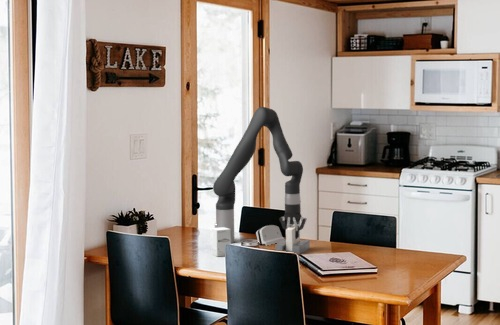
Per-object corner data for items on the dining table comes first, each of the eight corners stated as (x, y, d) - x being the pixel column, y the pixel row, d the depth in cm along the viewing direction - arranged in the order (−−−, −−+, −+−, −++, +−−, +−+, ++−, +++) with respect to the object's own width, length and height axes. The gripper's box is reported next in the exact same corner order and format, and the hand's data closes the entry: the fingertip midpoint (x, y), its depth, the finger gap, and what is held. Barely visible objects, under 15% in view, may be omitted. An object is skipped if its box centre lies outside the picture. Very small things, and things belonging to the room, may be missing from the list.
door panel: (292, 250, 379) (291, 230, 378) (285, 250, 380) (284, 229, 379) (300, 244, 390) (299, 224, 389) (293, 244, 391) (292, 224, 390)
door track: (299, 254, 375) (299, 246, 374) (275, 252, 379) (275, 244, 379) (309, 248, 390) (309, 240, 389) (286, 246, 394) (286, 238, 394)
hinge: (266, 246, 397) (260, 226, 398) (259, 248, 400) (253, 229, 401) (285, 241, 410) (280, 222, 411) (278, 243, 413) (273, 224, 414)
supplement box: (217, 257, 372) (216, 230, 371) (210, 254, 378) (209, 228, 377) (231, 255, 375) (230, 228, 374) (224, 252, 382) (223, 226, 381)
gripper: (276, 203, 382) (276, 239, 384) (304, 204, 377) (304, 240, 378) (281, 201, 389) (281, 236, 391) (308, 202, 384) (309, 237, 385)
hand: (293, 238), depth 384 cm, fingers closed on door panel, 3 cm apart
